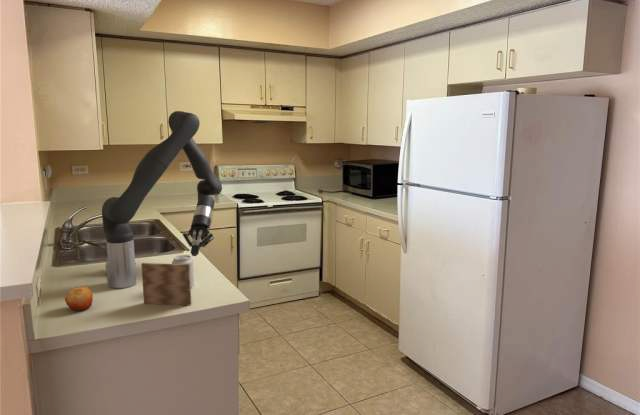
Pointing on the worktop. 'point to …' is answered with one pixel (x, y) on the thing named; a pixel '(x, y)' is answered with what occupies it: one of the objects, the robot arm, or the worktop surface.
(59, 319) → the worktop surface
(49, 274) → the worktop surface
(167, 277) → the brown wooden block
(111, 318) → the worktop surface
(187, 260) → the can
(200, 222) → the robot arm
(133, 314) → the worktop surface
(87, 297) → the fruit
